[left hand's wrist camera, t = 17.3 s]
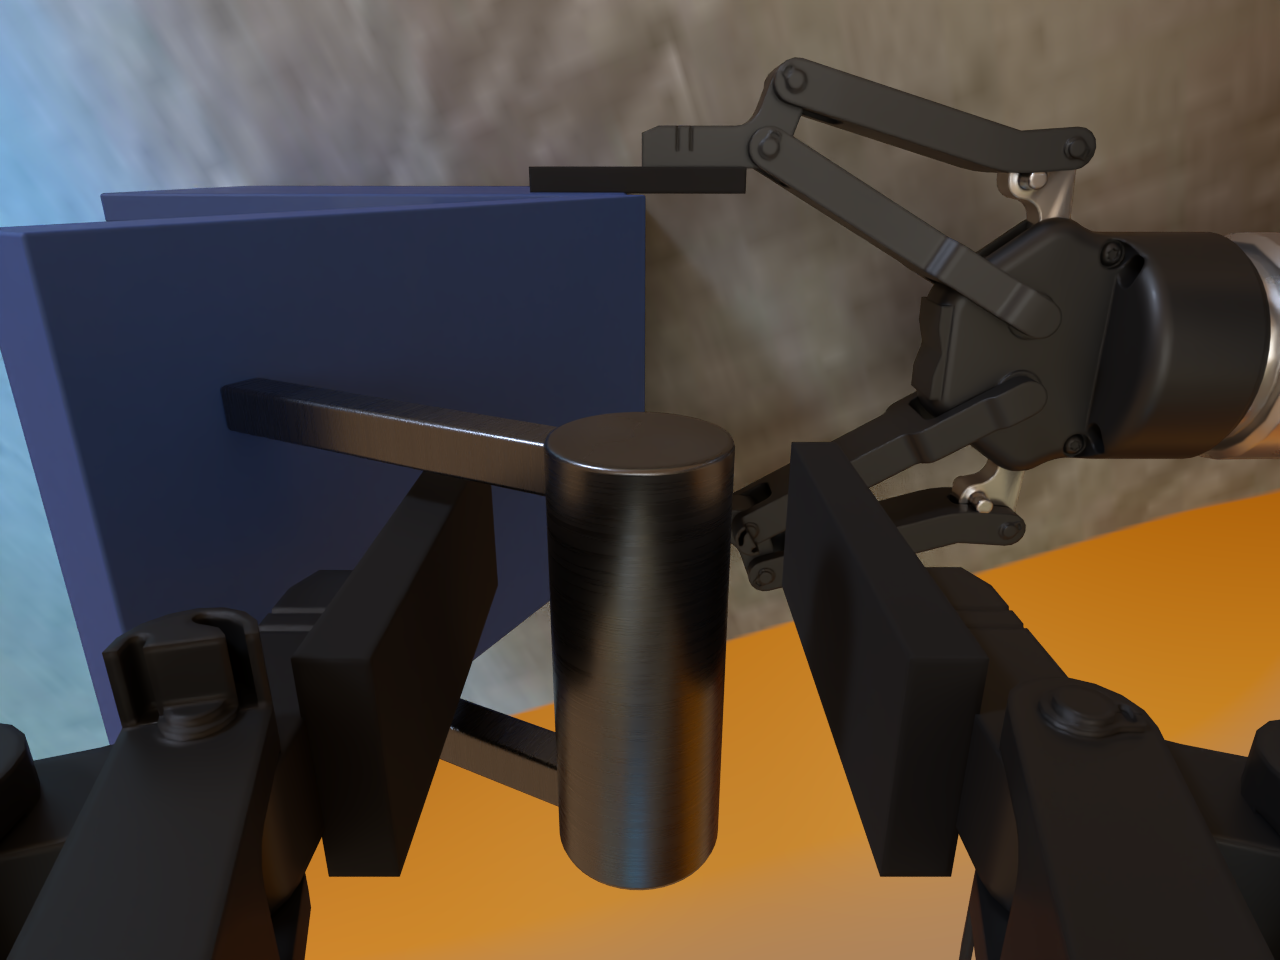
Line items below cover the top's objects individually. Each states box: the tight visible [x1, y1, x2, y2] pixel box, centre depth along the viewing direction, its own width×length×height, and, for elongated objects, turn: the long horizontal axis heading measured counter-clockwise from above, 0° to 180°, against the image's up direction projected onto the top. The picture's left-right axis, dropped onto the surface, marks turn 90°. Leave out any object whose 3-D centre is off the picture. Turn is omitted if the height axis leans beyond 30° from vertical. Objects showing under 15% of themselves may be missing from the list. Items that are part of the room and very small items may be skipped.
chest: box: [101, 186, 627, 222], centre depth 30 cm, size 15×10×10 cm, turn 90°
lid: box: [0, 194, 735, 890], centre depth 16 cm, size 16×10×9 cm
